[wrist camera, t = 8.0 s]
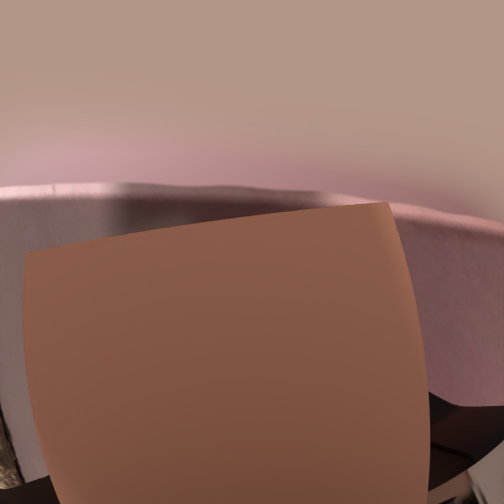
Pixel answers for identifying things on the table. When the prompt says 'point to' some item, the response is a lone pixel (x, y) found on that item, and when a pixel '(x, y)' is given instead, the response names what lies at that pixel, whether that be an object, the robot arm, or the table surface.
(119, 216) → the table surface
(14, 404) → the table surface
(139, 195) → the table surface
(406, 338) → the terracotta post
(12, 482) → the elongated rock
